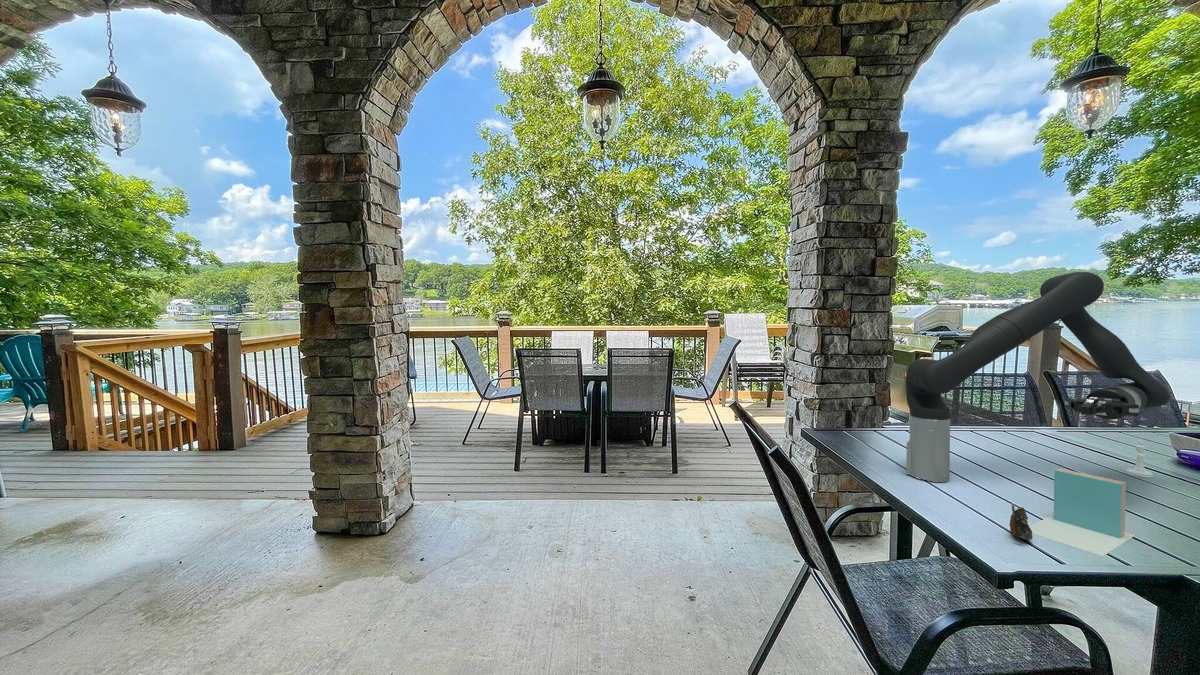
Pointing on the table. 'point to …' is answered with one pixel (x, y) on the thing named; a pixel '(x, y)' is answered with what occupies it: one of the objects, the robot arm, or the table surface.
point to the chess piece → (1139, 462)
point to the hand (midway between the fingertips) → (1085, 410)
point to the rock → (1020, 524)
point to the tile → (1090, 502)
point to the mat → (1077, 536)
